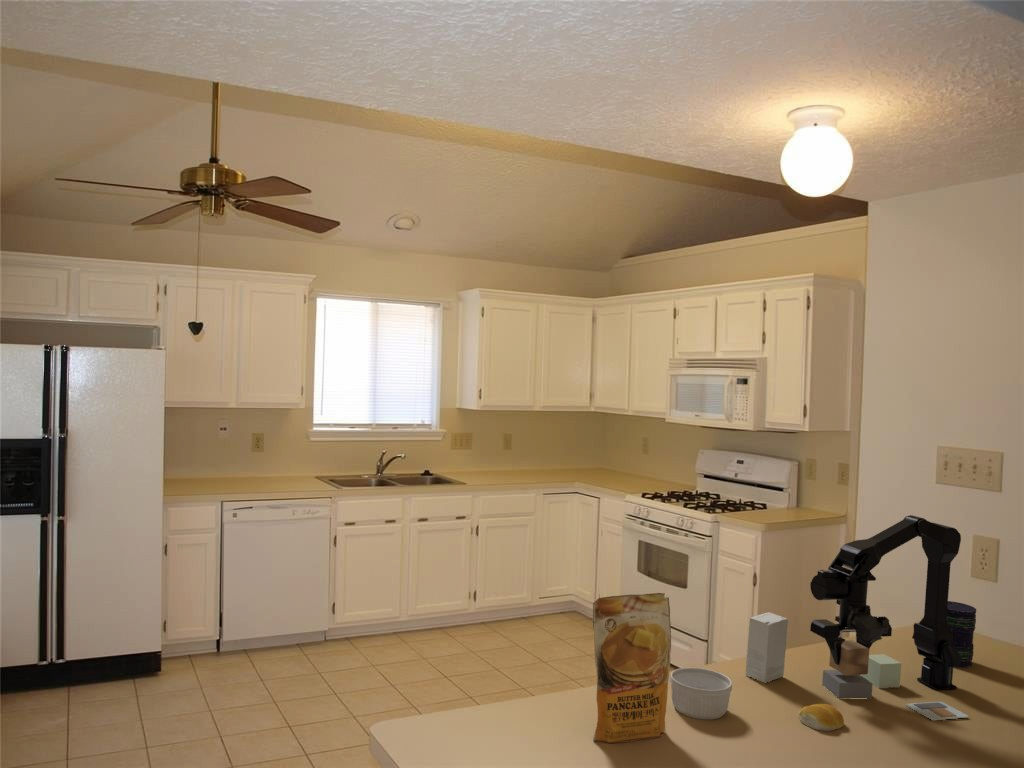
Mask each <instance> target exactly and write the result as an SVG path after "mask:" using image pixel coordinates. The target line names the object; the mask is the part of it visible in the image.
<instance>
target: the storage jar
mask: <svg viewBox="0 0 1024 768" xmlns="http://www.w3.org/2000/svg"><path fill="white" fill-rule="evenodd" d="M976 613H977V608H975V607H974V606H972V605H969V604H966V603H962V602H958V601H957V602H956V601H953V600H952V601H950V600H948V607H947V623H948V625H949V627H950V629H951V631H952V634H953V646H954V647H955V649H956V650H957V651H958V653H959V654H960V655H961V657H962V660H961V663H960V665H959V666H956V667H955V668H960V669H963V668H964V669H965V668H967V669H969V668H971V667H972V665H973V661H972V660H973V657H974V647H975V645H974V634H975V633H974V632H975V631H976V623H977V615H976Z"/></svg>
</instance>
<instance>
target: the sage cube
mask: <svg viewBox="0 0 1024 768" xmlns="http://www.w3.org/2000/svg"><path fill="white" fill-rule="evenodd" d="M901 672H902V662H900V661H899V660H897V659H894V658H892V657H890V656H888V655H886V654H883V653H881V654H869V663H868V674H864V675H861V676H863V677H864V678H865V679H867V680H868V681H870V682H871V683H872V684H873V685H872V686H874V685H875V686H877V687H878V688H877V687H876V688H877V689H889V688H888V687H895V688H900V686H901V685H900V684H901V674H902V673H901ZM875 686H874V687H875Z"/></svg>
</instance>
